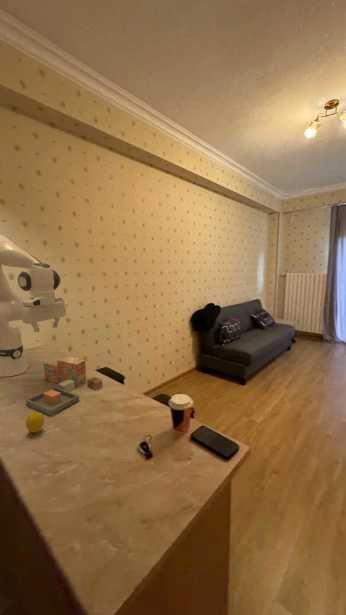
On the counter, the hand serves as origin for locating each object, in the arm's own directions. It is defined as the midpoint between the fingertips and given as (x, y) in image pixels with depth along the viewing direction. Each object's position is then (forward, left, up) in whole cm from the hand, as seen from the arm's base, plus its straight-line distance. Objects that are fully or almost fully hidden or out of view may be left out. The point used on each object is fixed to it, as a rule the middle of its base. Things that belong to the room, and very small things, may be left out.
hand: (46, 329), depth 123 cm
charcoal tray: (+13, -8, -29) cm, 33 cm away
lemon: (+25, -24, -29) cm, 45 cm away
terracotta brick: (+13, -8, -28) cm, 32 cm away
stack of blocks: (-1, +9, -30) cm, 31 cm away
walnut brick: (+17, +12, -29) cm, 36 cm away
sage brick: (+8, +3, -29) cm, 30 cm away
